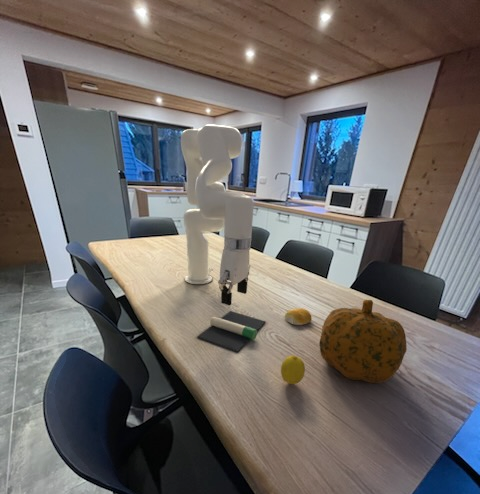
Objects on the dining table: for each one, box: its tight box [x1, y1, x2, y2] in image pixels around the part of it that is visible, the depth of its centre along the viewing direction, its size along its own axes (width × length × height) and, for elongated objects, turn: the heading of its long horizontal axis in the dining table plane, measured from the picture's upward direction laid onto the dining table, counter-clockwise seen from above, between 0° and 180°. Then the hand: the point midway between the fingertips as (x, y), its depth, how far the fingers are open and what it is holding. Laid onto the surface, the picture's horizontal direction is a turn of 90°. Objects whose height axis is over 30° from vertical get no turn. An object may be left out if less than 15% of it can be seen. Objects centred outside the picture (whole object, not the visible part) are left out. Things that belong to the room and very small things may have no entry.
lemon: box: [280, 355, 306, 385], centre depth 63 cm, size 6×6×8 cm
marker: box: [209, 315, 258, 340], centre depth 83 cm, size 15×3×3 cm
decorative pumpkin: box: [318, 299, 408, 384], centre depth 67 cm, size 20×21×20 cm
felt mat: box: [197, 310, 266, 353], centre depth 85 cm, size 20×14×1 cm
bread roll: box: [284, 308, 312, 326], centre depth 93 cm, size 8×9×4 cm
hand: (234, 298), depth 81 cm, fingers open, 9 cm apart
